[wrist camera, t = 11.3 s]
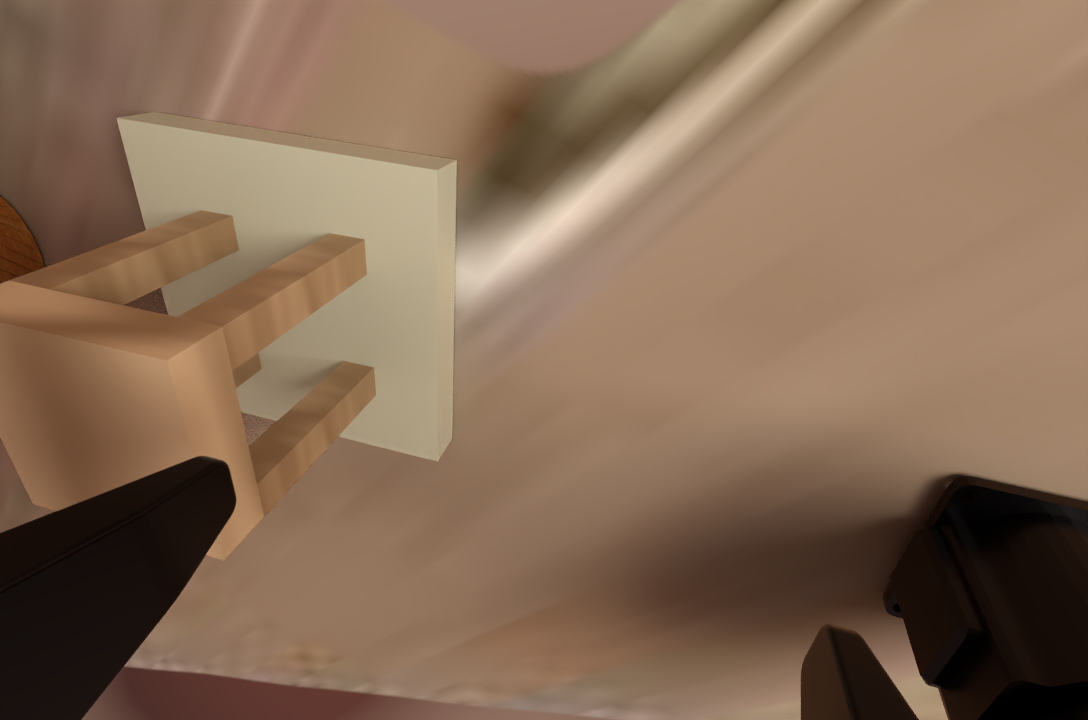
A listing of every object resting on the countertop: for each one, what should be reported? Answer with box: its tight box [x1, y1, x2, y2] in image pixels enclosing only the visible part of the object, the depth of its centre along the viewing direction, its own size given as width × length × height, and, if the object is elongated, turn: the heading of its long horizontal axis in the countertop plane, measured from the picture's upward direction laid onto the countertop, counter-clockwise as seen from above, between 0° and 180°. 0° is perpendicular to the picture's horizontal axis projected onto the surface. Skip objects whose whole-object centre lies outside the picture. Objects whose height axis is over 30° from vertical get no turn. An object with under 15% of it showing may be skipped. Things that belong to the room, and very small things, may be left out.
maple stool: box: [0, 210, 376, 560], centre depth 18 cm, size 6×6×8 cm
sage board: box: [117, 112, 457, 462], centre depth 22 cm, size 11×11×2 cm
